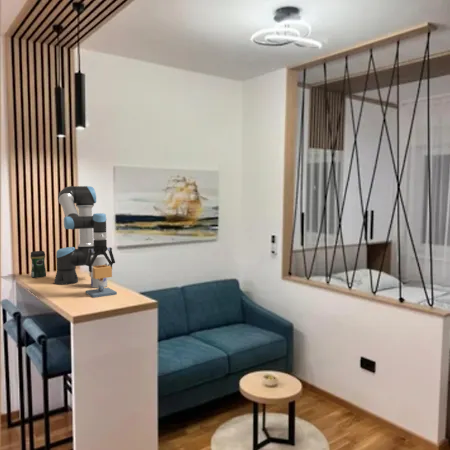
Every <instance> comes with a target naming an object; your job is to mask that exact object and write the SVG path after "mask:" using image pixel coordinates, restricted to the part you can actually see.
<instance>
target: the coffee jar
mask: <svg viewBox="0 0 450 450" xmlns="http://www.w3.org/2000/svg"><path fill="white" fill-rule="evenodd" d="M45 252H46V251H44V250H37V251H36V250H35V251H31V252H30V259H31V272H30V273H31V274H30V275H31V278H44V277H47V272H46V271H47V270H46V264H45V259H46V253H45Z"/></svg>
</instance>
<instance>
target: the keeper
mask: <svg viewBox="0 0 450 450" xmlns="http://www.w3.org/2000/svg"><path fill="white" fill-rule="evenodd" d="M85 294H87V295H88V296H90V297H91V298H93V299H95V298H102V297H108V296H115V295H117V294H118V293H117V291H116V290H113V289H112V288H109V287H104V281H103V278H99V279H98V288H94V289H89V290H88V289H87V290H85Z"/></svg>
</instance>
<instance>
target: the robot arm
mask: <svg viewBox="0 0 450 450" xmlns="http://www.w3.org/2000/svg"><path fill="white" fill-rule="evenodd" d="M57 200H58V203H59V205H60V206H61V207H62V210H63V214H64V216H65V217H63V228H64V229H66V230H79V244H78V245H77V248H75V247H74V246H69V247H68V246H67V247H62V248H59V249H57V251H56V256H55V258H56V272H55V273H56V274H55V276H54V284H55V285H72V284H73V285H74V284H77V283H79V277H78V273H77V271H76V267H80V266H84V267H85V266H87V267H88V272H89V273H90V272H91V277H92V278H93V266H92V265H93V263H94V261H95V259H96V257H97V256H98V255H104V256H105V258H106V259H107V265H108V266H110V267H112V268H113V264H115V263H116V260H115V257H114V254H113V248H112V247H110V246H109V247H108V246H107V245H108V243H107V214H106V213H104V212H103V213H101V212H100V213H98V212H97V213H93V212H92V211H93V207H95V204H96V203H97V194H96V191H95V188H94V187H93V186H88V185H84V186H83V185H80V186H78V185H76V186H75V185H74V186H73V185H69V186H66V187H64V188H63V189H61V190H60V191H59V193H58V195H57ZM77 209H78V210H77ZM107 251H108V253H107ZM108 254H109V255H108ZM91 256H93V257H92V259H91ZM91 277H90V278H91Z"/></svg>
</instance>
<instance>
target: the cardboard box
mask: <svg viewBox="0 0 450 450" xmlns="http://www.w3.org/2000/svg"><path fill="white" fill-rule="evenodd" d="M89 277H90V278H91V272H89ZM112 277H113V266H112V267H110V266H108V264H107V265H97V266H93V278H95V279H99V278H107V279H108V278H112Z"/></svg>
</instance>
